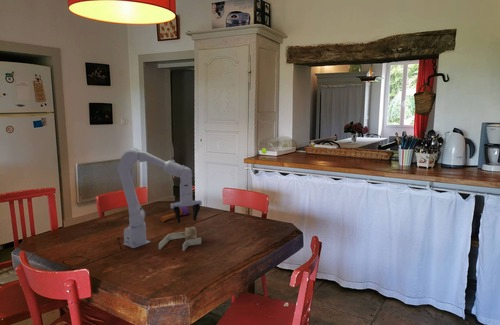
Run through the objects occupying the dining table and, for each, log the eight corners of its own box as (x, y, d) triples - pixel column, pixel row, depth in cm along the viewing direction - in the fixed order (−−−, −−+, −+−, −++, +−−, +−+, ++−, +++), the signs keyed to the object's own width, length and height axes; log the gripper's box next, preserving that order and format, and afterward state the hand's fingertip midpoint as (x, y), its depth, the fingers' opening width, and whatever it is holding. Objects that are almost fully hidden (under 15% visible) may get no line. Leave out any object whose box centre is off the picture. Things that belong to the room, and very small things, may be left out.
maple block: (187, 243, 169) (187, 230, 168) (185, 240, 173) (185, 227, 172) (196, 241, 170) (196, 229, 170) (194, 238, 174) (194, 226, 174)
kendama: (157, 214, 202) (182, 204, 218) (159, 224, 202) (185, 213, 218) (164, 214, 198) (189, 203, 214) (166, 224, 199) (191, 213, 215)
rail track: (174, 255, 155) (173, 248, 154) (149, 246, 165) (149, 240, 164) (210, 240, 172) (210, 234, 172) (186, 233, 182) (185, 227, 182)
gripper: (173, 196, 162) (173, 225, 164) (203, 193, 169) (204, 221, 171) (169, 193, 169) (169, 221, 170) (198, 190, 175) (199, 217, 177)
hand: (186, 221), depth 171 cm, fingers open, 7 cm apart
